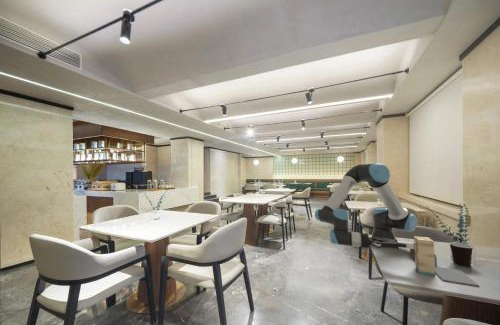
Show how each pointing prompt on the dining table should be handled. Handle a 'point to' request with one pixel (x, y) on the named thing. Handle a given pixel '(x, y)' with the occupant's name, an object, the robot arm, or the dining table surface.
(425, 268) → the oak block
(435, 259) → the beverage carton
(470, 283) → the rubber mat
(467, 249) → the coffee mug
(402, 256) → the dining table surface
